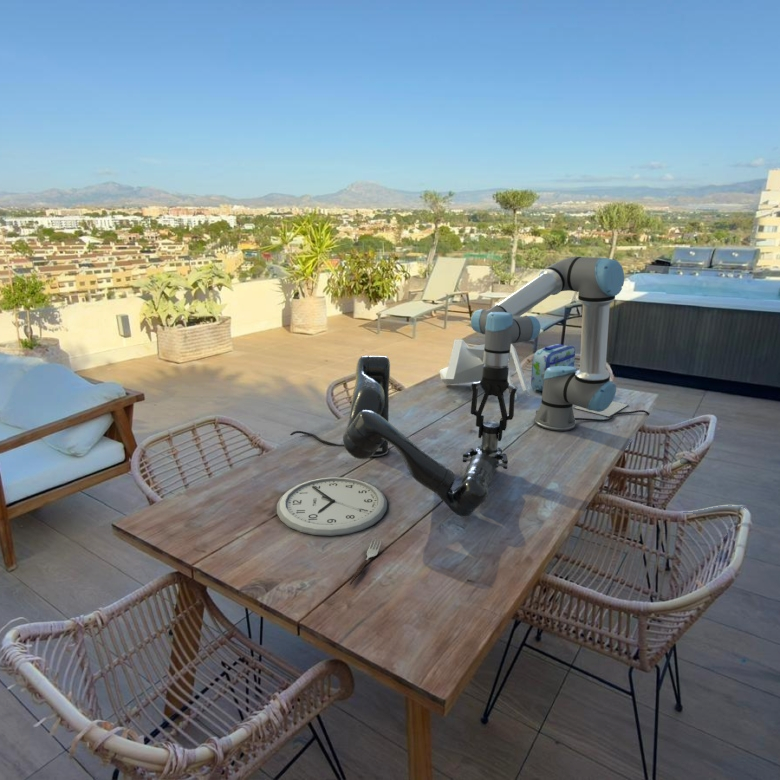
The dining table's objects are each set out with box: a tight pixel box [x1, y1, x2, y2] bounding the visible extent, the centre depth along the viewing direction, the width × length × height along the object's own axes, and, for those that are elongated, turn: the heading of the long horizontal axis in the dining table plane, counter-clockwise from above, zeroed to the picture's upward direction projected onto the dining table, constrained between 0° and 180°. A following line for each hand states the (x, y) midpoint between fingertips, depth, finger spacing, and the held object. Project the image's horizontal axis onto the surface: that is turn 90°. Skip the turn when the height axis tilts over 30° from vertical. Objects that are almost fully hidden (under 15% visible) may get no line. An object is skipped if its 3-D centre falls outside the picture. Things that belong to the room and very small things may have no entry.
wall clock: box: [276, 476, 388, 537], centre depth 142 cm, size 30×2×30 cm
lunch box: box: [530, 343, 576, 392], centre depth 248 cm, size 26×11×21 cm, turn 134°
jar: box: [481, 432, 499, 474], centre depth 162 cm, size 5×5×15 cm
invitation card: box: [573, 400, 629, 418], centre depth 226 cm, size 21×1×15 cm
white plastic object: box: [438, 338, 531, 400], centre depth 245 cm, size 37×45×31 cm
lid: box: [482, 420, 500, 434], centre depth 160 cm, size 5×5×2 cm
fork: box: [349, 538, 383, 585], centre depth 117 cm, size 3×16×2 cm, turn 160°
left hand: (490, 449), depth 165 cm, fingers closed on jar, 5 cm apart
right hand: (490, 437), depth 161 cm, fingers closed on lid, 5 cm apart
